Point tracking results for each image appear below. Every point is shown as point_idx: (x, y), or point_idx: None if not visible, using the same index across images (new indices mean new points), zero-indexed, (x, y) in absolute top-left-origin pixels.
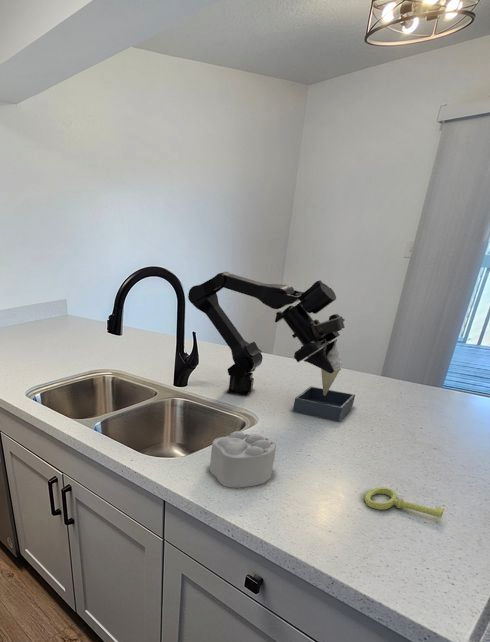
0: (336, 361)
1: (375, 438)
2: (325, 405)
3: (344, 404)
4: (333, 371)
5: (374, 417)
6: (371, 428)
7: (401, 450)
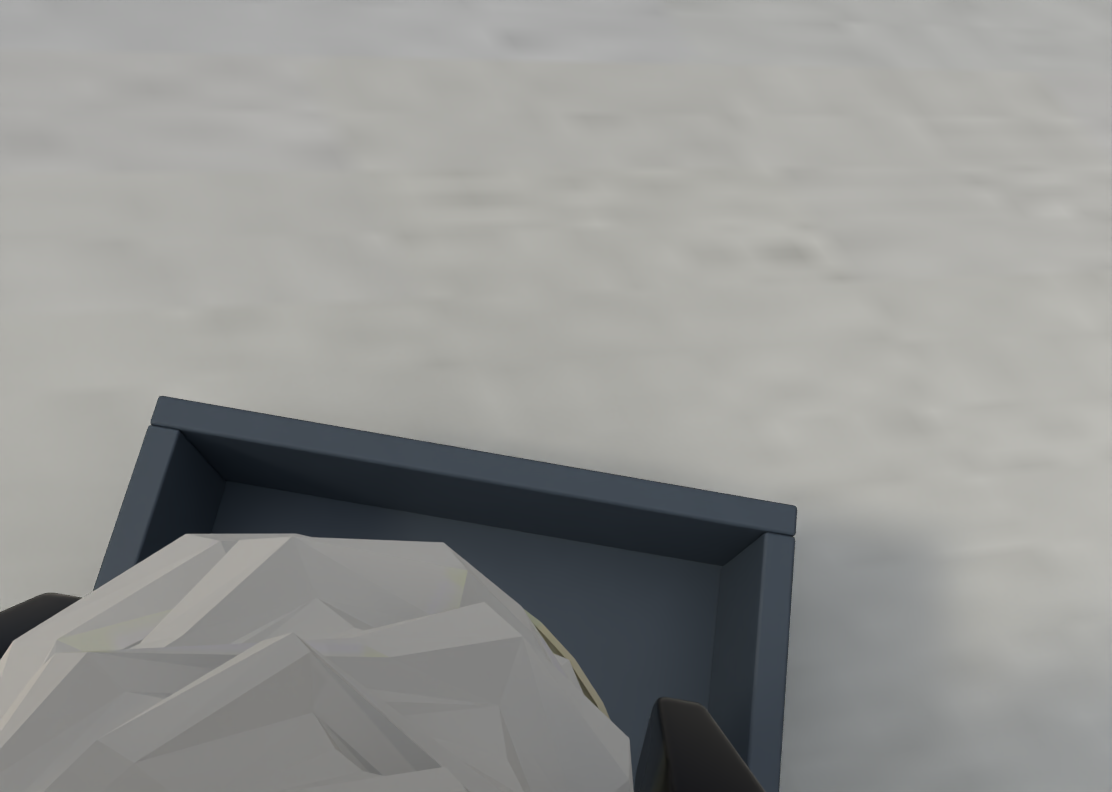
0: (513, 685)
1: (963, 220)
2: (778, 730)
3: (642, 489)
4: (695, 713)
5: (437, 241)
6: (749, 255)
7: (1073, 62)
